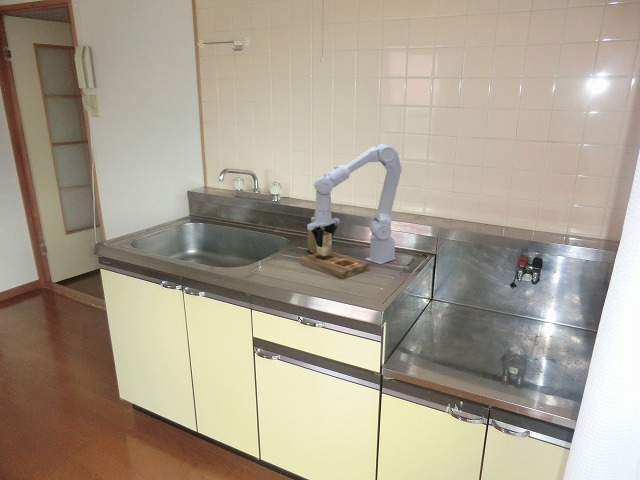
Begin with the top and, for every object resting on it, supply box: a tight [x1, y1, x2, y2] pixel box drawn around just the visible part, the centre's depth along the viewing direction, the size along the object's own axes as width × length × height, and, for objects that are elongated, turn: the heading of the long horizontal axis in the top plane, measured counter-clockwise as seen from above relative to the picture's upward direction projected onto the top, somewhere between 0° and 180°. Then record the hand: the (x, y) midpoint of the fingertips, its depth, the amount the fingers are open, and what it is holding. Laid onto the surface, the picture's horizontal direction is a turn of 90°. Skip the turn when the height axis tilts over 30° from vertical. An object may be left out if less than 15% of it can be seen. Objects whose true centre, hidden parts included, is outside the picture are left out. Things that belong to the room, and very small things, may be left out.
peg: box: [317, 232, 333, 256], centre depth 178 cm, size 4×4×8 cm
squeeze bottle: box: [306, 208, 325, 254], centre depth 192 cm, size 8×8×18 cm
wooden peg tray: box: [299, 251, 371, 280], centre depth 176 cm, size 14×23×3 cm, turn 42°
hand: (324, 245), depth 179 cm, fingers closed on peg, 4 cm apart
